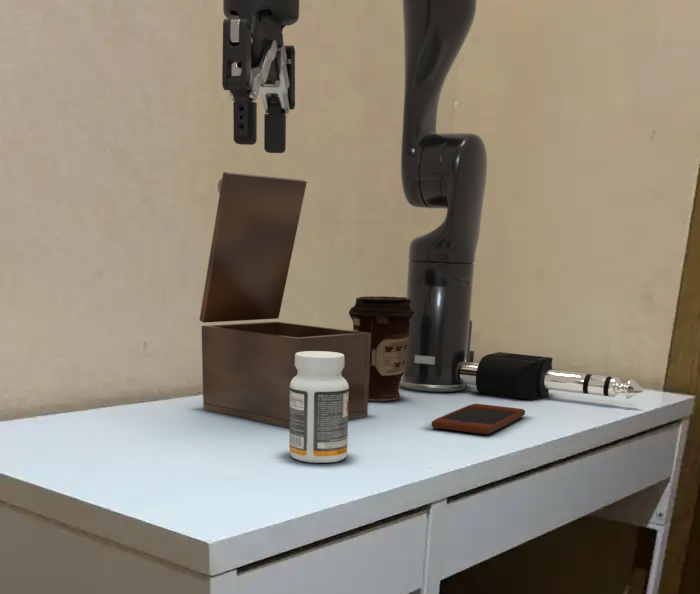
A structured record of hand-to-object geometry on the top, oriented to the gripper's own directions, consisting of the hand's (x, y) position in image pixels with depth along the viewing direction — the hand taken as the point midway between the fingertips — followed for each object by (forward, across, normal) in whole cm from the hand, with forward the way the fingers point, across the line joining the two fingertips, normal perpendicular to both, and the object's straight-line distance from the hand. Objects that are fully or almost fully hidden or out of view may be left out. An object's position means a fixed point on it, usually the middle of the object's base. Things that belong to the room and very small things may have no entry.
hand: (260, 148), depth 98 cm
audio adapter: (+28, +35, -31) cm, 54 cm away
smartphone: (+28, +11, -24) cm, 39 cm away
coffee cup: (+28, +23, -8) cm, 37 cm away
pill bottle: (+29, -15, -12) cm, 35 cm away
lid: (+10, +8, +4) cm, 14 cm away
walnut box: (+28, +6, -1) cm, 29 cm away
